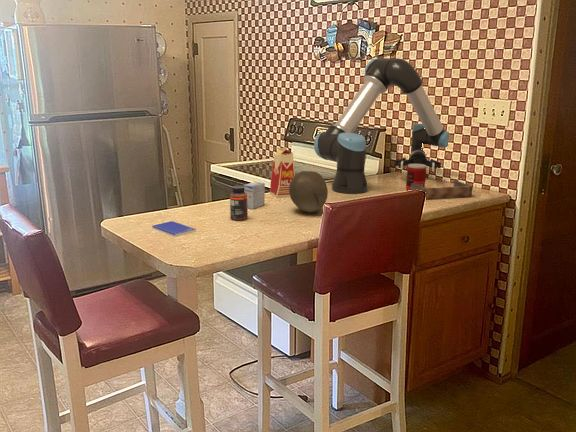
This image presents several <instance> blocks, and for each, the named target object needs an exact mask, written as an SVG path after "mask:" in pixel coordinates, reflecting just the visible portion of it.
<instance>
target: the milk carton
mask: <svg viewBox="0 0 576 432" xmlns="http://www.w3.org/2000/svg"><path fill="white" fill-rule="evenodd" d="M287 148H288V146H284V147H278V151H276V153H275V154H274V155H273V162H272V166H271V167H272V168H271V177H270V186H269V187H270V188H269V194H270V195H273V196H274V197H275V198H291V197H290V193H289V185H290V182H291V180H292V178H293V177H294V176H295V175H296V174H295V173H296V172H295V163H294V152H292V151H290V150H288V149H287Z"/></svg>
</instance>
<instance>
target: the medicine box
mask: <svg viewBox="0 0 576 432" xmlns="http://www.w3.org/2000/svg"><path fill="white" fill-rule="evenodd" d="M243 186H244V192H245V193H247V209H248V210H255V209H257V208H259V207H263V206H265V202H266V201H265V199H266V198H265V197H266V196H265V195H266V193H265V191H266V189H265V188H266V184H265V183H264V182H261V181H253V182H250V183H246V184H244V185H243Z"/></svg>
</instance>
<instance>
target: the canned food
mask: <svg viewBox="0 0 576 432" xmlns="http://www.w3.org/2000/svg"><path fill="white" fill-rule="evenodd" d="M426 176H427V166H426V165H424V164H408V165H407V168H406V186H405V190H406V191H407V192H409V191H408V190H411V183H415V184H418V185H420V186H422V187H425V188H426Z"/></svg>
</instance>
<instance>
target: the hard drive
mask: <svg viewBox="0 0 576 432" xmlns="http://www.w3.org/2000/svg"><path fill="white" fill-rule="evenodd" d="M151 227H152V229H153V230H156V231H158V232H161V233H164V234H166V235H169V236H171V237H174V238H176V237H180V236H184V235H188V234H193V233H196V232H197V229H196V228H194V227H191V226H188V225H184V224H182V223H179V222H176V221H173V220H172V221H167V222H162V223H159V224H157V223H156V224H153V225H152V226H151Z"/></svg>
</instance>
